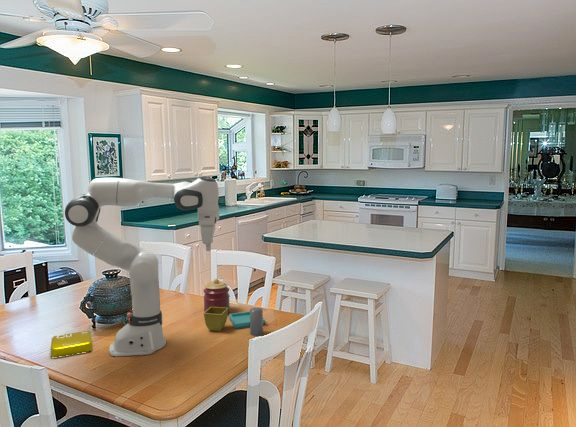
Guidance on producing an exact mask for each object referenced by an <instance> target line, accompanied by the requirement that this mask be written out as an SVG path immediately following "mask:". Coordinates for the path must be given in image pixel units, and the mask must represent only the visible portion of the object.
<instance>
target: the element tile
mask: <svg viewBox="0 0 576 427" xmlns="http://www.w3.org/2000/svg"><path fill="white" fill-rule="evenodd" d="M91 350H92V351H93V340H92V332H91V331H90V330H84V331H83V330H82V331H78V332H72V333H67V334H66V333H65V334H59V335H54V336H53V337H52V338H51V342H50V355H51V356H52V357H59V356H66V355H72V354H77V353H82V352H88V353H90V352H89V351H91ZM92 351H91V352H92ZM77 355H78V354H77ZM72 356H73V355H72ZM52 357H51V358H52ZM66 357H67V356H66Z"/></svg>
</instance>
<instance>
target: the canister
mask: <svg viewBox="0 0 576 427" xmlns="http://www.w3.org/2000/svg"><path fill="white" fill-rule="evenodd" d="M228 285H229V284H228V283H227V282H225V281H222V280H219V278H214V279H213V280H212V281H209V282H207V283H206V284H205V285H204V289H203V294H204V296H203V306H204V308H203V313H204V312H205V311H207V310H208V309H209V308H210V307H223V308H228V314H230V310H231V306H230V297H231V296H230V294H229V291H230V288H229V287H228Z"/></svg>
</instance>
